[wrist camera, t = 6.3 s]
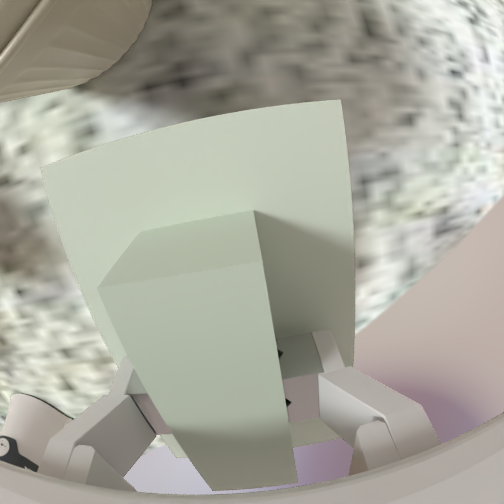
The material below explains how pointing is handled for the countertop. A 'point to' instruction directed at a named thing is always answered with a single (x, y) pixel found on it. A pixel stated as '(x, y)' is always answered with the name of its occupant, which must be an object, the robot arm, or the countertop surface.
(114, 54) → the canister
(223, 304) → the lid
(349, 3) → the countertop surface
